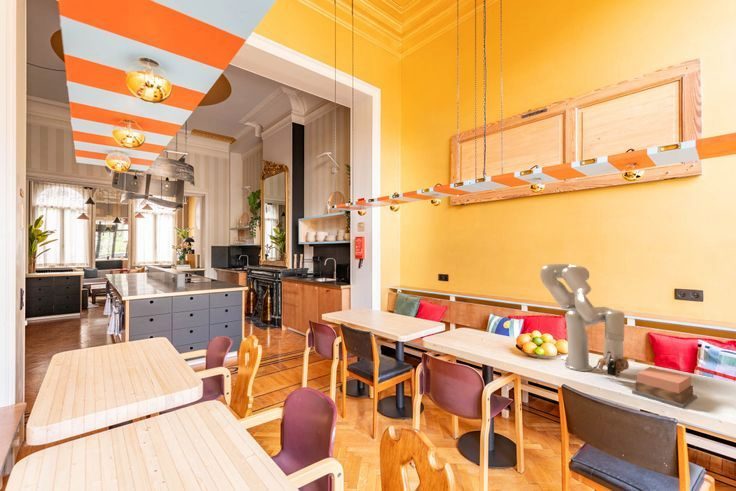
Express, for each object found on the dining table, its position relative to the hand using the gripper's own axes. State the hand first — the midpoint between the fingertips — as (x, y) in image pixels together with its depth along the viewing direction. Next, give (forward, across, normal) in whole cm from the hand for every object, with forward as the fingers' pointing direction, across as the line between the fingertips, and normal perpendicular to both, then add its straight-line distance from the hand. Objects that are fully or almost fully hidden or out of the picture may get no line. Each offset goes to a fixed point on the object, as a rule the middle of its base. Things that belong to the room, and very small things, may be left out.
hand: (613, 373), depth 161 cm
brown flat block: (+2, 0, +19) cm, 19 cm away
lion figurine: (+1, 0, -1) cm, 2 cm away
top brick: (-2, 0, +19) cm, 19 cm away
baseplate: (+3, 0, +19) cm, 19 cm away
